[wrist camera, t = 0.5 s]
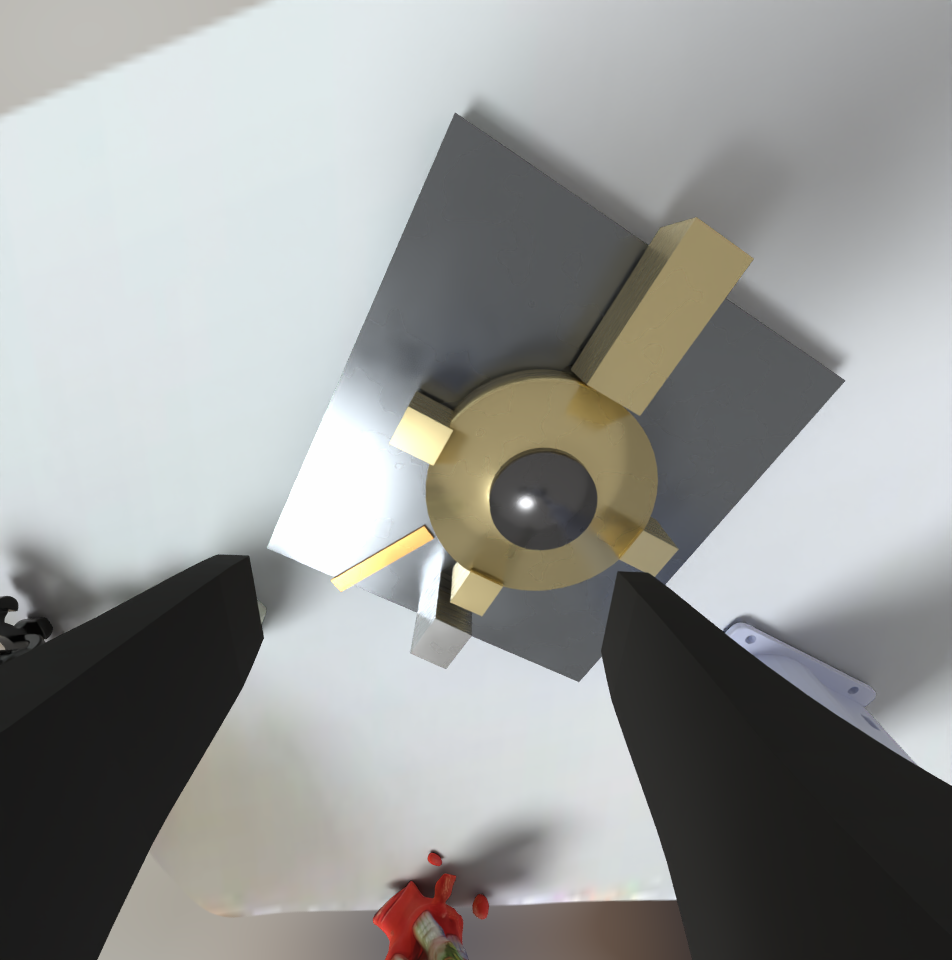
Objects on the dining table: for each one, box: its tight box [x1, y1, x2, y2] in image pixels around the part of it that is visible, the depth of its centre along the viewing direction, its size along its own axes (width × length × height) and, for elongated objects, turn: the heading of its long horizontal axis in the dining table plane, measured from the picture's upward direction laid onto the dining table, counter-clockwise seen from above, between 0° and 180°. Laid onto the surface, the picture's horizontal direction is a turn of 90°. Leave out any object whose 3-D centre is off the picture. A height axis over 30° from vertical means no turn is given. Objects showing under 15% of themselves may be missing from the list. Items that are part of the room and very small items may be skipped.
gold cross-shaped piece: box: [389, 217, 754, 616], centre depth 16 cm, size 14×11×3 cm
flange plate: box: [267, 113, 845, 682], centre depth 17 cm, size 16×18×4 cm
